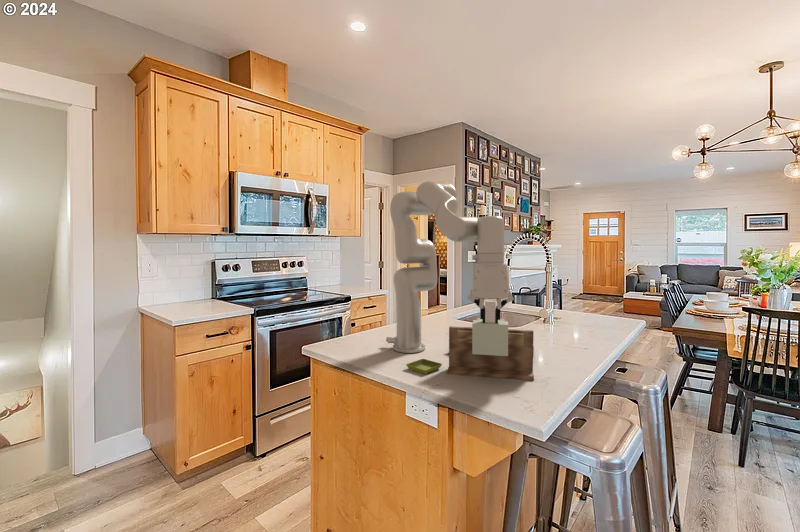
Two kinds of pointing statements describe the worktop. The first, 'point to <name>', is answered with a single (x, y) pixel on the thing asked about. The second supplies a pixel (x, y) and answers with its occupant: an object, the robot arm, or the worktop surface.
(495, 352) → the pale green stepped block
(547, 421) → the worktop surface
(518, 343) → the wall board
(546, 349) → the worktop surface
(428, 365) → the olive green square tray
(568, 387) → the worktop surface
